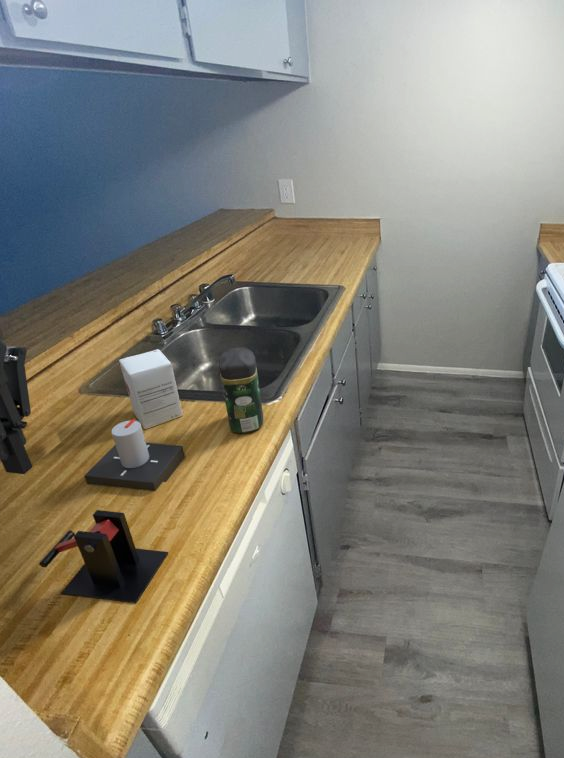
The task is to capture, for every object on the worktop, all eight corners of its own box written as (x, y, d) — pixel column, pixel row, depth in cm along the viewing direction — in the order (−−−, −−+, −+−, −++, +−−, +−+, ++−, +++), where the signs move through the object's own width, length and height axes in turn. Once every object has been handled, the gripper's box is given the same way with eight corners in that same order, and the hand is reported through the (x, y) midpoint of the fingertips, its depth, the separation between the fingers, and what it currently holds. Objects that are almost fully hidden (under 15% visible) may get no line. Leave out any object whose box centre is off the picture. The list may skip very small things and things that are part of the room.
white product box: (132, 412, 114) (117, 358, 107) (171, 400, 120) (159, 347, 113) (143, 430, 108) (128, 374, 101) (184, 416, 114) (172, 362, 107)
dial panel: (88, 487, 92) (83, 475, 91) (123, 450, 102) (119, 439, 101) (156, 494, 91) (153, 482, 90) (185, 456, 101) (182, 445, 100)
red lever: (46, 570, 72) (34, 560, 71) (74, 538, 77) (63, 529, 76) (101, 552, 68) (89, 541, 67) (126, 520, 74) (116, 509, 73)
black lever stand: (62, 598, 72) (37, 544, 67) (102, 549, 80) (82, 497, 74) (137, 607, 71) (118, 553, 66) (169, 556, 79) (155, 505, 74)
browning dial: (140, 469, 93) (130, 435, 89) (116, 467, 93) (105, 433, 89) (154, 452, 97) (145, 420, 93) (131, 450, 98) (121, 418, 94)
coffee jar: (228, 413, 115) (217, 346, 107) (262, 408, 118) (254, 342, 109) (228, 437, 107) (216, 367, 99) (264, 431, 110) (256, 362, 101)
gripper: (-27, 294, 62) (31, 438, 73) (-138, 338, 50) (-49, 501, 61) (27, 299, 61) (77, 442, 72) (-73, 344, 50) (5, 507, 61)
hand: (19, 469), depth 67 cm, fingers closed
